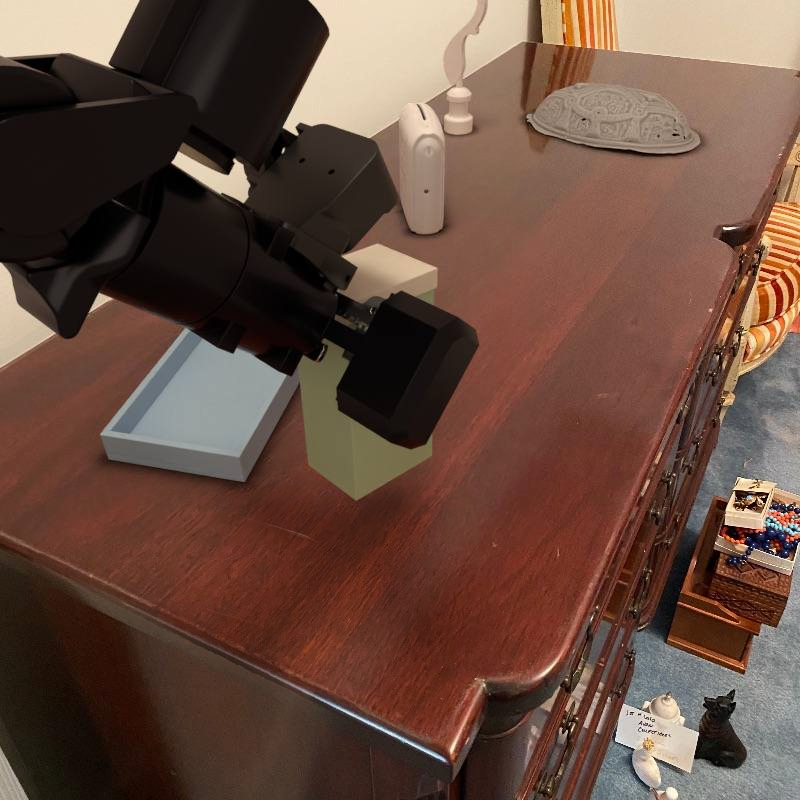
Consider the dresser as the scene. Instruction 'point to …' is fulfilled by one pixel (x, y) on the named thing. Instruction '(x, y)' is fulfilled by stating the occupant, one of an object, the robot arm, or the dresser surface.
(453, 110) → the decorative finial
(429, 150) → the photo printer
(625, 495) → the dresser surface
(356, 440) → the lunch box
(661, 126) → the grey textured dome
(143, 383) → the dish tray
